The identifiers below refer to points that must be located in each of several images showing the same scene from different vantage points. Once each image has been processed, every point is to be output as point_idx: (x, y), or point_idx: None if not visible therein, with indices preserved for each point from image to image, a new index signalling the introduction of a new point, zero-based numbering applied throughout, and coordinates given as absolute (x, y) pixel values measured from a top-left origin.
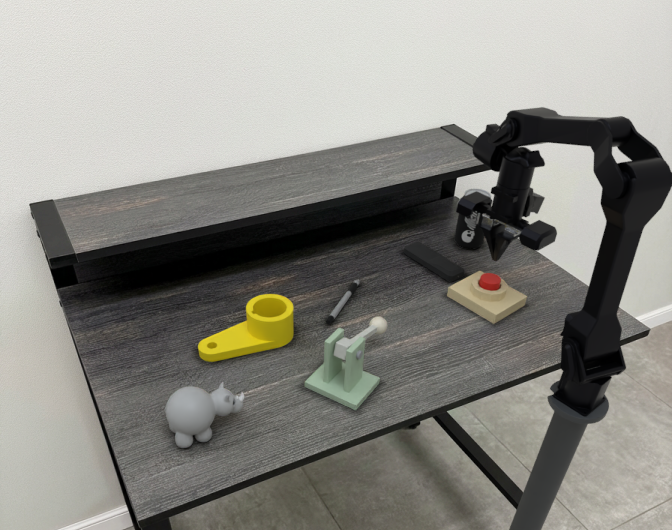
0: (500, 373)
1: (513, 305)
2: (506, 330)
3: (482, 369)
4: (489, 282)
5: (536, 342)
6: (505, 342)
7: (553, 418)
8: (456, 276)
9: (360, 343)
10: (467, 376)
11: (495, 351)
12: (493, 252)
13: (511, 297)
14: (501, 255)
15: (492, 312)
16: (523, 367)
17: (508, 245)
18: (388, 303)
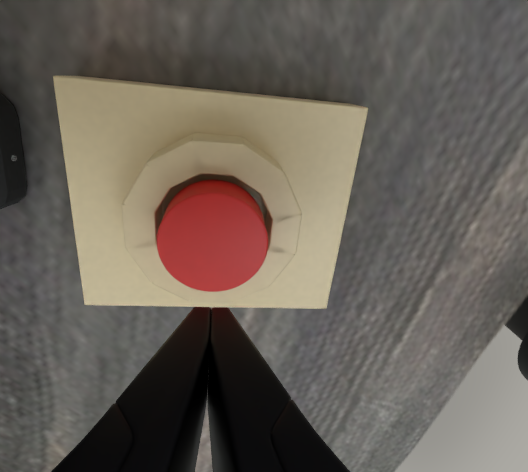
0: (418, 408)
1: (345, 208)
2: (361, 281)
3: (379, 424)
4: (232, 280)
5: (459, 262)
6: (383, 324)
7: (506, 326)
8: (12, 172)
9: None
10: (363, 454)
11: (376, 366)
12: (201, 425)
13: (316, 174)
14: (243, 334)
15: (308, 306)
16: (458, 362)
17: (298, 415)
18: (25, 425)
